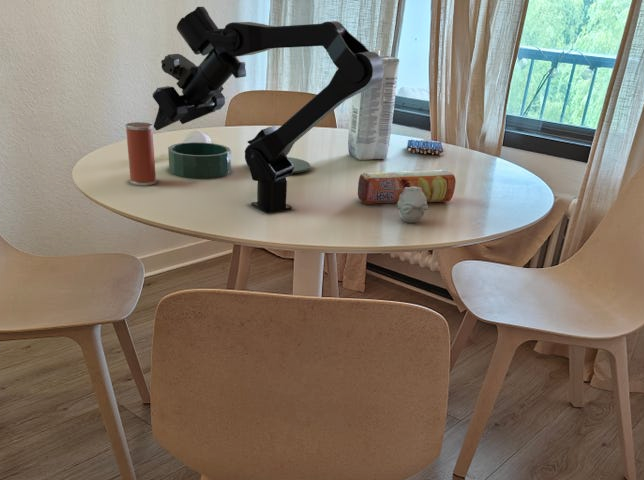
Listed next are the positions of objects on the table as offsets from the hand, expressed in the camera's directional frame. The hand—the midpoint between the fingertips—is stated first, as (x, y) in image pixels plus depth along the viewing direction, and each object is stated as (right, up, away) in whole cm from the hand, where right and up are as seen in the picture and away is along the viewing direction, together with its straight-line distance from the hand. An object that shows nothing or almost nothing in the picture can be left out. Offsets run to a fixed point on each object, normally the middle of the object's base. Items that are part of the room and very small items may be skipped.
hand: (168, 125), depth 137 cm
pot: (+3, -4, +21) cm, 21 cm away
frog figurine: (+51, -22, -5) cm, 55 cm away
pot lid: (+23, 0, +27) cm, 35 cm away
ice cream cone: (0, +4, +34) cm, 35 cm away
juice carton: (+47, +7, +44) cm, 64 cm away
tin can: (-8, -10, +9) cm, 15 cm away
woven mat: (+65, +13, +54) cm, 85 cm away
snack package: (+51, -15, +7) cm, 54 cm away
